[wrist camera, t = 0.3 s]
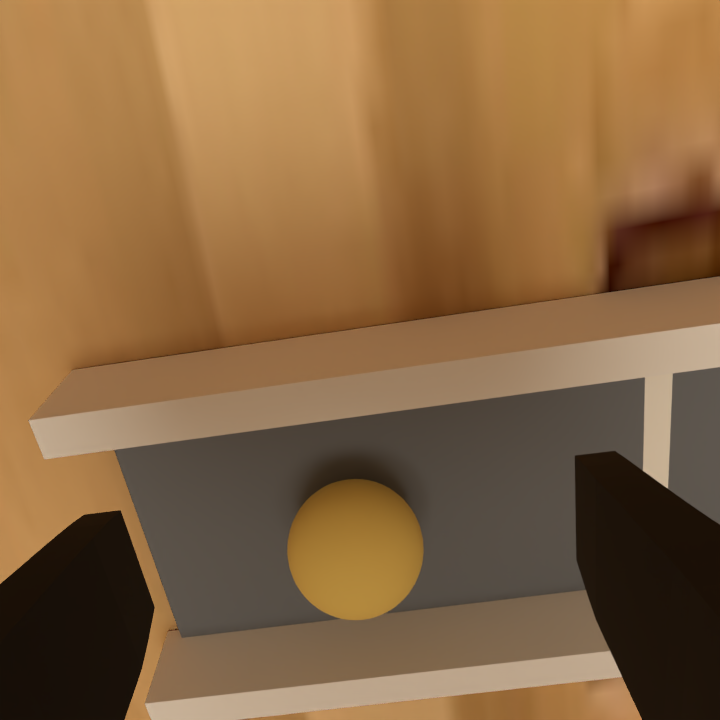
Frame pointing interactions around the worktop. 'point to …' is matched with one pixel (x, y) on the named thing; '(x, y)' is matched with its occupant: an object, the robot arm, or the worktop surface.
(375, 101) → the worktop surface
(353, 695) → the lane
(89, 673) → the robot arm
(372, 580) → the ball
